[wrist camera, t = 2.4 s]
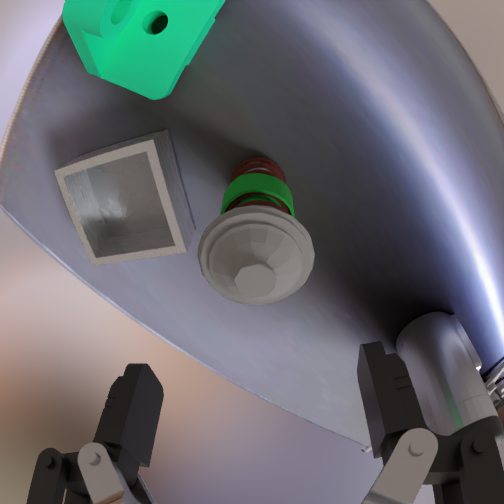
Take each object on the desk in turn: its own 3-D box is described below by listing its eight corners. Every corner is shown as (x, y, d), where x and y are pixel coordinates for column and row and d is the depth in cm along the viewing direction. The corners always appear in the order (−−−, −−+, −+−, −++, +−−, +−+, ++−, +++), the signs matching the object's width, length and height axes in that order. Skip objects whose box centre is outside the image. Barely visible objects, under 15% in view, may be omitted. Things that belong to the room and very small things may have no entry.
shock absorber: (268, 222, 31) (272, 341, 18) (210, 190, 29) (171, 295, 16) (306, 170, 28) (345, 265, 15) (246, 133, 26) (231, 198, 13)
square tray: (169, 128, 26) (153, 139, 22) (195, 228, 31) (186, 252, 27) (77, 156, 27) (53, 170, 23) (109, 242, 32) (92, 265, 28)
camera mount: (170, 100, 25) (123, 118, 16) (101, 71, 23) (32, 80, 14) (238, -13, 19) (225, -57, 10) (162, -40, 17) (116, -81, 8)
